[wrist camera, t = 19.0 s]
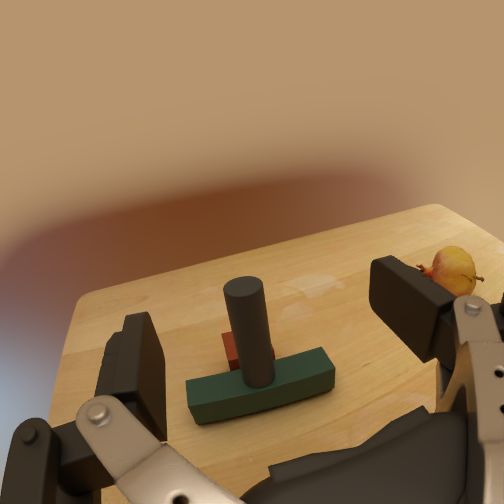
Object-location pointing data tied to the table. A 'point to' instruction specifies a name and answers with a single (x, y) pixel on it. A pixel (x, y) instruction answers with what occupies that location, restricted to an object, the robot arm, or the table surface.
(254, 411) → the wiper
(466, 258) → the fruit
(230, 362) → the rust-brown cube
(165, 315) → the table surface
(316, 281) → the table surface
